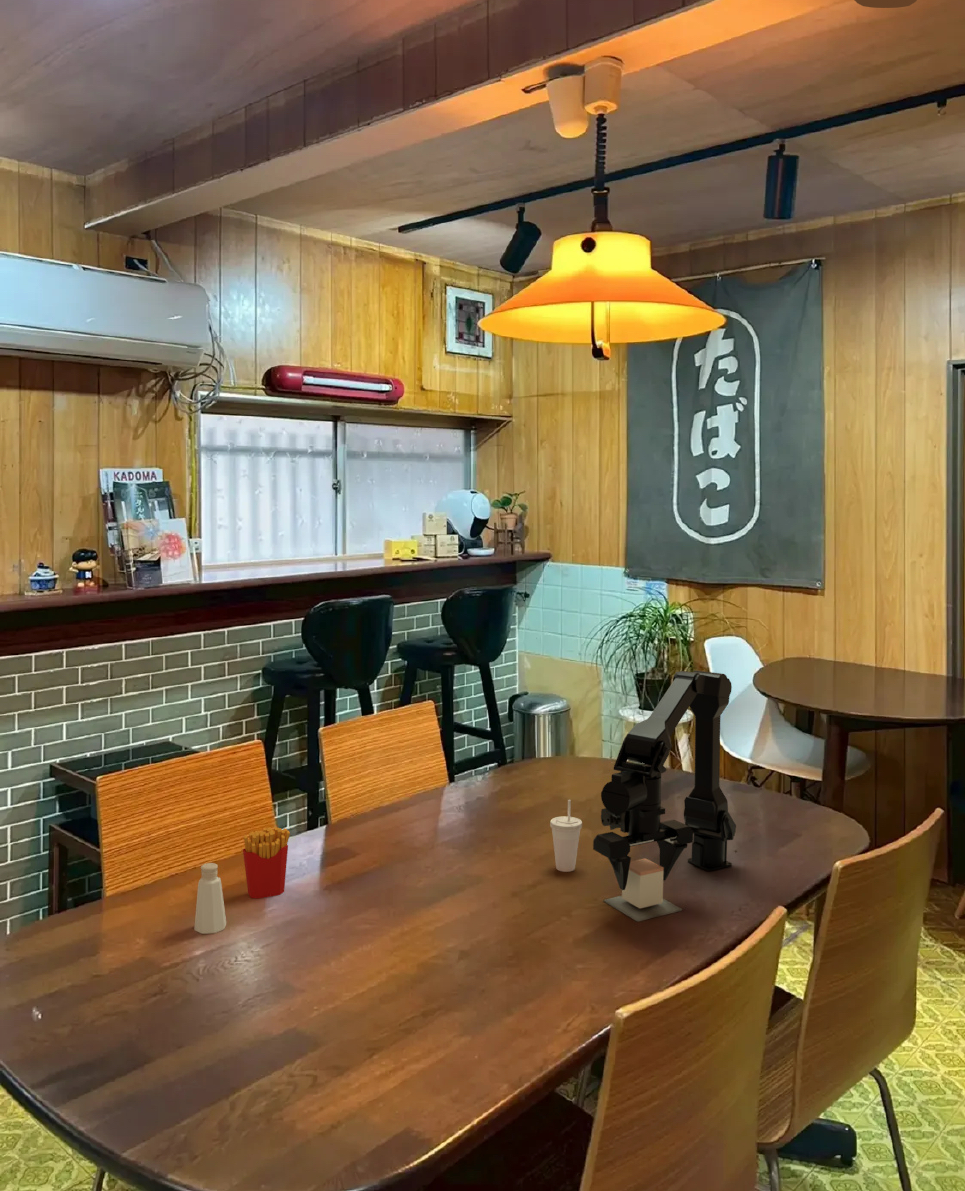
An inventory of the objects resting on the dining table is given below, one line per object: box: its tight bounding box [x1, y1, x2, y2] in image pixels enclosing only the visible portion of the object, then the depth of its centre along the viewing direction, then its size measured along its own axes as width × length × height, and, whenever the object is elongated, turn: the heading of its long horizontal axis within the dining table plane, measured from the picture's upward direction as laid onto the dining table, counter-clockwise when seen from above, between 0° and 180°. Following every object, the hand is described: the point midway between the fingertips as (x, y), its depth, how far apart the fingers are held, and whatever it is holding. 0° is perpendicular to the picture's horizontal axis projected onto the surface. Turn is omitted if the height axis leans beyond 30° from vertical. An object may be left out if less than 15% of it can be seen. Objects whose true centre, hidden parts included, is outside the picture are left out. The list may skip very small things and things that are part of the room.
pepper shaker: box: [193, 862, 227, 935], centre depth 169 cm, size 5×5×11 cm
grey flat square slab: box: [603, 895, 683, 923], centre depth 179 cm, size 10×10×7 cm
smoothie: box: [549, 799, 583, 873], centre depth 197 cm, size 6×6×14 cm
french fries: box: [242, 826, 291, 899], centre depth 184 cm, size 8×4×12 cm, turn 118°
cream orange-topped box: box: [621, 858, 664, 908], centre depth 179 cm, size 5×5×7 cm
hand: (642, 884), depth 179 cm, fingers open, 9 cm apart
